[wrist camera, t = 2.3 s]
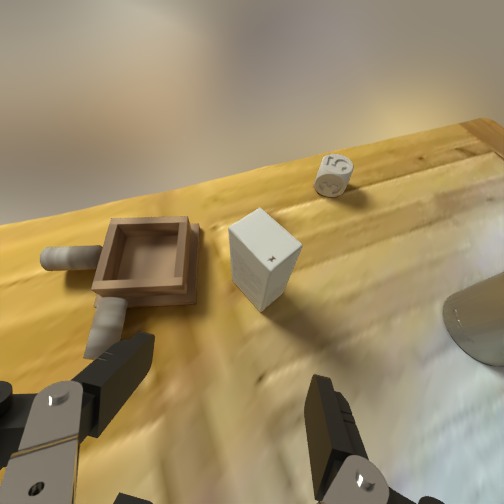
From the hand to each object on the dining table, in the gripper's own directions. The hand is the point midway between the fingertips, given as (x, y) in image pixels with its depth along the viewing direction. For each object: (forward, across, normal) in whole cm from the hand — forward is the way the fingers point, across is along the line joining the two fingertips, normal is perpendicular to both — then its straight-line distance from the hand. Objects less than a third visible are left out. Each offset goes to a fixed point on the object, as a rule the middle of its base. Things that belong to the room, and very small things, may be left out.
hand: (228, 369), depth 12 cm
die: (+34, -9, -13) cm, 38 cm away
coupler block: (+18, +16, +6) cm, 25 cm away
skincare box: (+20, 0, +3) cm, 21 cm away
